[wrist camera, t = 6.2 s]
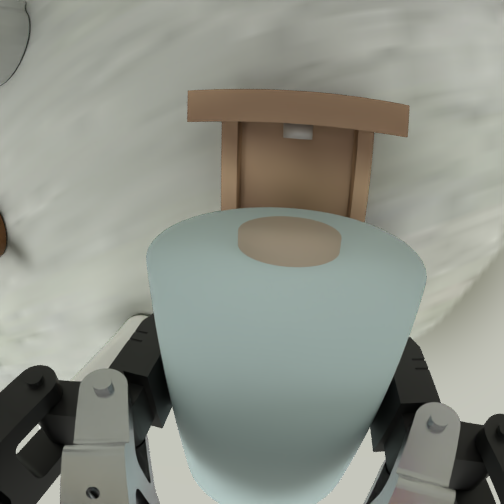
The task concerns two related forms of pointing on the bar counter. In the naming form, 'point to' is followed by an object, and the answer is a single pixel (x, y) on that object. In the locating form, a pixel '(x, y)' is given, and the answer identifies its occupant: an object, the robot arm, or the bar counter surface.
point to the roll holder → (297, 146)
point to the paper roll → (279, 344)
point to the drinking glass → (110, 348)
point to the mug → (2, 236)
